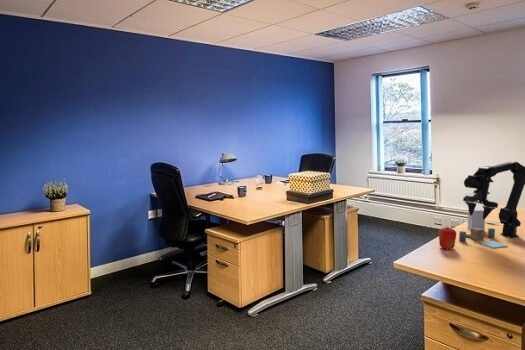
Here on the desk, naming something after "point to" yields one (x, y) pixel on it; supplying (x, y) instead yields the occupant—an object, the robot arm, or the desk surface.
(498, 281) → the desk surface
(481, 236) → the walnut block
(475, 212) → the supplement box
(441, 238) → the apple
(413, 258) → the desk surface
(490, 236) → the cylinder
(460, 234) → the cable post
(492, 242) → the pale teal mat
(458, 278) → the desk surface
